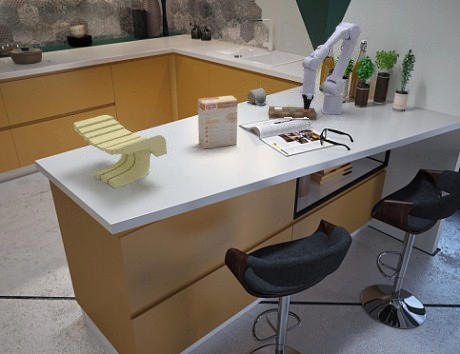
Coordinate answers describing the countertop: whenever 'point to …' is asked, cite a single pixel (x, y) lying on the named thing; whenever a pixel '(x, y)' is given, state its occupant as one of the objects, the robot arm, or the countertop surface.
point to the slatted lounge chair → (120, 149)
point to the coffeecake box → (217, 121)
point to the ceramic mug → (257, 96)
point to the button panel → (291, 113)
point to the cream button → (278, 109)
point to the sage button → (292, 108)
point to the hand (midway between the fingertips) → (306, 109)
